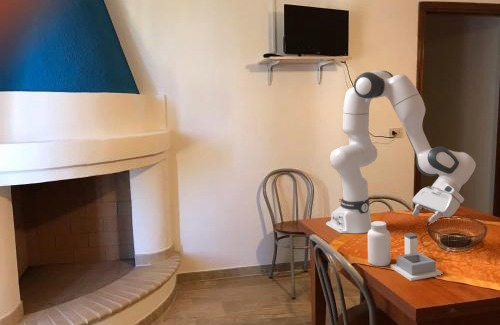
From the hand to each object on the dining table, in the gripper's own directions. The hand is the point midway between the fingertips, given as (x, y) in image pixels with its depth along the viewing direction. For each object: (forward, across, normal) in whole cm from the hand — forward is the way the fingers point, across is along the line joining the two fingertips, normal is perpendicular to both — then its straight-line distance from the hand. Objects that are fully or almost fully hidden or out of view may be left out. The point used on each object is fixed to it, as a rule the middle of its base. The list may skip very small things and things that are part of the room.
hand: (421, 218), depth 166 cm
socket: (+19, +16, -1) cm, 24 cm away
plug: (+15, +5, +3) cm, 16 cm away
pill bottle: (+24, +4, -6) cm, 25 cm away
